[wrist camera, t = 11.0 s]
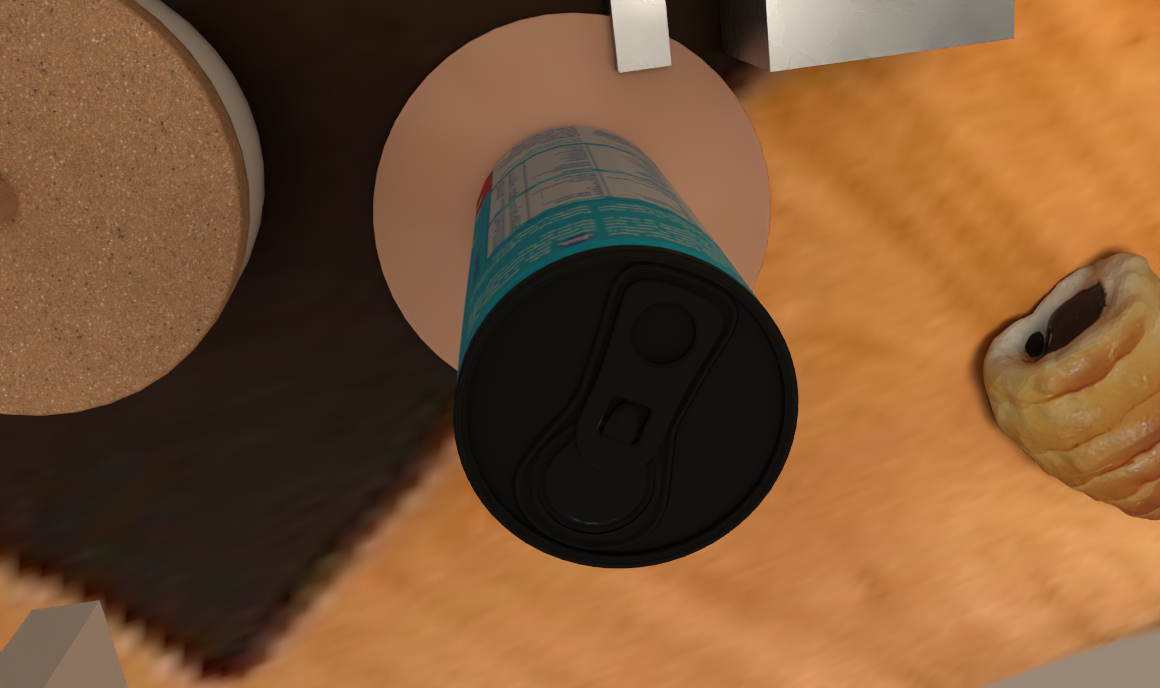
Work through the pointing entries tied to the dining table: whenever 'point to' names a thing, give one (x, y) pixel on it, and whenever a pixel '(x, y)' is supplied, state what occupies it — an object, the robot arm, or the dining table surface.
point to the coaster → (535, 104)
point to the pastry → (1088, 383)
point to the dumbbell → (813, 29)
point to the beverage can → (612, 361)
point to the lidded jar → (115, 198)
